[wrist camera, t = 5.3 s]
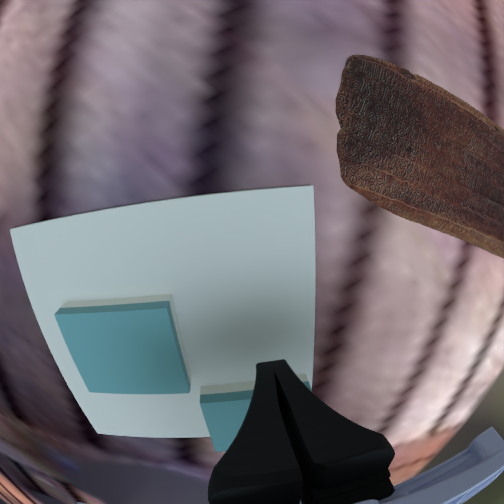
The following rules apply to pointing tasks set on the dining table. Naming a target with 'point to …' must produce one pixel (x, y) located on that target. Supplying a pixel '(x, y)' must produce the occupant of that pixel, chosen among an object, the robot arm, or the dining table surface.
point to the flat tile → (228, 409)
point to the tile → (126, 345)
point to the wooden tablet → (421, 152)
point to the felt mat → (183, 290)
